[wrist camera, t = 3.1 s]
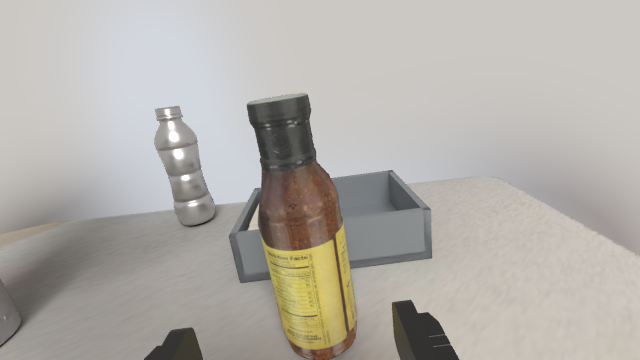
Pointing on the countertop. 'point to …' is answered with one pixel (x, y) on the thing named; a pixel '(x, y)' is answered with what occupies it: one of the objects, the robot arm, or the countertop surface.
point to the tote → (353, 225)
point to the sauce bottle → (302, 231)
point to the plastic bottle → (183, 167)
